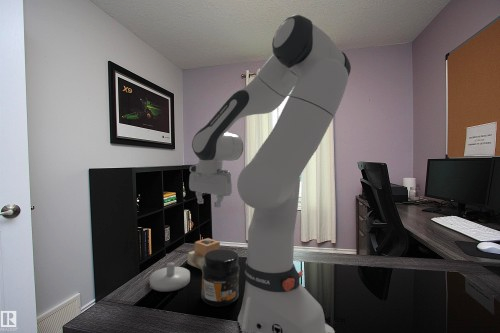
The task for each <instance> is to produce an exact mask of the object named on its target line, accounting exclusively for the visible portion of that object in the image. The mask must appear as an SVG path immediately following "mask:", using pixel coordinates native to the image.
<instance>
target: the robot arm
mask: <svg viewBox="0 0 500 333" xmlns="http://www.w3.org/2000/svg"><path fill="white" fill-rule="evenodd" d="M271 43H272V44H271V46H272V47H271V49H272V55H271V56H270V57H269V58H268V59H267V60H266V62H265V63H264V64H263V66H261V68H260V70H259V71H258V72H257V74H256V75H255V77H254V78H253V79H252V80H251V81H250V82H249V83H248V84H246V86H244V87H243V88H241V89H239V90H237V91H236V92H234V93H233V94H232V95H231V96H230V97H229V98H228V99H227V100H226V101H225V103H223V105H222V106H221V107H220V108H219V110H217V112H216V113H215V114H214V116H212V118H211V119H210V120H209V122H208V123H207V124H206V125H204V126H203V127H202V128H200V129H199V130H198V131H197V132H196V133H195V135H194V136H193V138H192V140H191V141H192V142H191V148H192V150H193V153H194V155H195V156H196V157H197V158H198V163H196V164H193V165H191V166H190V167H189V172H190V174H189V178H188V179H189V180H188V181H189V182H188V187H189V190H190V191H192V192H195V196H196V198H197V204H199V205H200V204H204V200H205V199H204V198H203V193H204V194H209V195H215V196H216V201H214V203H213V204H214V205H213V207H214V208H221V204H222V202H223V200H224V197H229V196H231V195H232V192H233V190H232V189H233V187H232V185H233V184H232V178H231V177H232V174H231V172H230V171H229V170H228V169H223V164H224V163H223V162H224V161H229V162H230V161H231V162H232V161H233V162H234V161H236V160H239V159H240V158H241V156H242V155H243V152H244V142H243V140H242V138H241V137H240V136H239V135H237V134H234V133H232V132H229V130H230V128H232V126H234V124H235V123H236V122H237V121H238V120H240V119H243V118H245V117H248V116H249V117H250V116H253V115H264V114H269V113H272V112H274V111H276V109H278V108H279V107H280V106H281V104H282V103H283V102H284V101H285V99H286V98H287V97H288V99H286V100H287V101H286V103H285V105H284V107H283V109H282V110H281V112H280V115H279V117H278V119H277V121H276V123H275V125H274V127H273V129H272V130H271V132H270V133H269V135H268V136H267V138H266V139H265V140H264V142H263V143H262V144H261V145H260V148H259V149H258V150H257V151H256V153H255V155H254V156H253V157H252V159H251V160H250V162H249V163H248V164H247V165H245V167H243V169H242V170H241V171H240V173H239V175H238V177H237V181H236V182H237V183H236V186H237V191H238V195H239V197H240V199H241V200H242V201H243V202H244V204H246V205H247V206H249V207H250V208H252V209H254V210H253V214H252V218H251V221H250V224H249V226H248V229H247V231H248V232H247V252H246V253H247V254H246V260H245V264H244V279H245V285H244V293H243V298H242V304H241V308H240V311H239V314H238V316H237V323H238V322H239V323H240V324H241V326H242V329H250V330H254V331H259V332H263V333H335V332H336V331H335V330H334V328H333V327H332V326H330V325H329V324H328V323H326V320H325V319H326V318H325V314H324V310H323V307H322V305H321V304H320V303H319V302H318V301H317V300H316V298H314V297H313V295H312V294H311V293H310V292H309V291H308V290H307V289H306V288H305V287H304V286H303V285H302V284H301V282H300V280H301V279H300V278H301V277H302V276H303V275H304V274H303V272H304V270H300V271H299V272H298V270H297V268H296V266H295V264H294V252H295V251H294V248H295V230H296V223H297V215H298V207H299V198H300V186H301V177H300V176H301V174H302V173H303V172H304V170H305V169H306V167H307V165H308V164H309V161H311V159H312V157H313V155H315V153H316V152H317V149H319V146H320V144H321V143H322V141H323V139H324V136H325V134H326V133H327V131H328V129H329V127H330V125H331V123H332V121H333V119H334V117H335V115H336V113H337V111H338V109H339V107H340V105H341V103H342V99H343V97H344V95H345V91H346V88H347V85H348V80H349V76H350V74H351V71H352V68H351V63H350V59H349V58H348V57H347V55H346V53H345V52H344V51H342V50H341V49H340V48H339V47H338V46H337V44H336V43H335V42H334V40H332V38H331V37H330V36H329V35H328V34H327V33H326V32H325V31H323V30H322V29H321V28H319V27H318V26H317V25H315V24H313V22H312V21H311V19H309V18H307V17H305V16H304V15H301V14H294V15H291V16H289V17H287V18H286V19H285V20H284V21H282V23H281V24H280V25H279V27H278V28H277V30H276V31H275V34H274V36H273V38H272V42H271Z"/></svg>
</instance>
